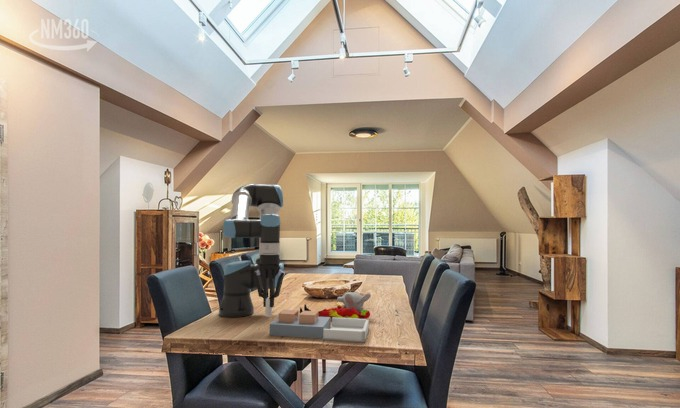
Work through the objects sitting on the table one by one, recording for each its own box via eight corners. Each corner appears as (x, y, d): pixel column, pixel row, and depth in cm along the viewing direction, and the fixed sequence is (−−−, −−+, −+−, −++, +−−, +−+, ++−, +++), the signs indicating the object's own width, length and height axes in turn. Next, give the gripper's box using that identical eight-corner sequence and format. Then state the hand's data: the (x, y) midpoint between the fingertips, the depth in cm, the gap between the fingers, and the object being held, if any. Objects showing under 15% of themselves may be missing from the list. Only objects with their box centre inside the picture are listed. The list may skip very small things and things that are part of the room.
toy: (336, 309, 181) (345, 317, 152) (336, 290, 183) (345, 293, 154) (359, 309, 183) (372, 316, 153) (359, 289, 184) (372, 293, 155)
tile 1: (278, 321, 135) (278, 313, 135) (283, 317, 141) (283, 309, 141) (293, 322, 134) (294, 314, 134) (298, 318, 140) (298, 310, 140)
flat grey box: (269, 335, 131) (269, 324, 131) (281, 324, 145) (281, 314, 145) (323, 338, 128) (323, 327, 128) (330, 327, 141) (330, 317, 142)
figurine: (306, 301, 164) (371, 303, 158) (307, 315, 164) (372, 317, 158) (297, 308, 152) (367, 310, 146) (298, 323, 152) (368, 325, 146)
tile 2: (299, 322, 133) (299, 314, 134) (303, 318, 139) (303, 310, 140) (314, 323, 132) (314, 315, 133) (318, 319, 138) (318, 311, 139)
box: (323, 339, 126) (323, 329, 126) (332, 326, 143) (332, 317, 143) (364, 342, 124) (364, 331, 124) (368, 328, 140) (368, 319, 141)
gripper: (249, 254, 137) (248, 317, 136) (282, 254, 135) (281, 318, 134) (257, 252, 145) (256, 312, 143) (288, 253, 143) (287, 314, 141)
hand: (268, 315), depth 138 cm, fingers closed
